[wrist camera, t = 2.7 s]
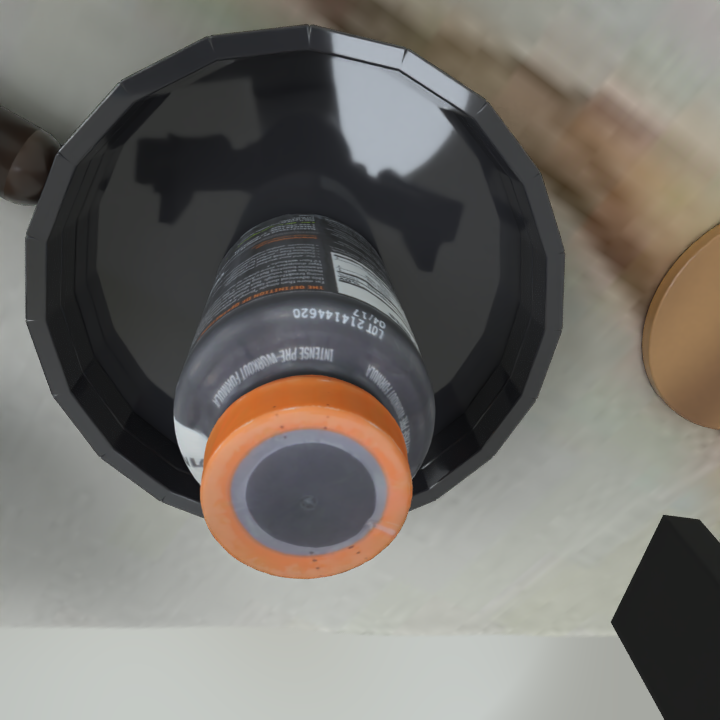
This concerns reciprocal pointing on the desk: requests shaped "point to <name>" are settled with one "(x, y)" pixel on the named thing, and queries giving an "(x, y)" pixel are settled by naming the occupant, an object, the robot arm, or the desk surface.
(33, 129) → the pan handle
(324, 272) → the pill bottle
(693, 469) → the desk surface
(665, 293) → the coaster
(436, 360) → the pan
